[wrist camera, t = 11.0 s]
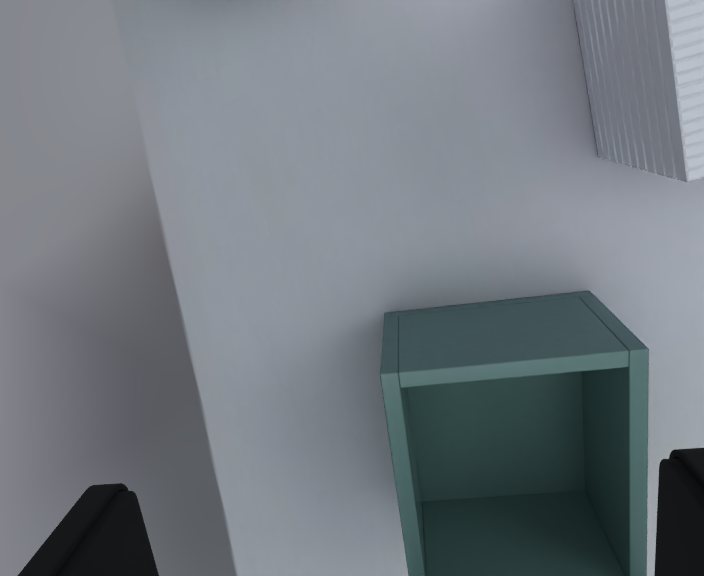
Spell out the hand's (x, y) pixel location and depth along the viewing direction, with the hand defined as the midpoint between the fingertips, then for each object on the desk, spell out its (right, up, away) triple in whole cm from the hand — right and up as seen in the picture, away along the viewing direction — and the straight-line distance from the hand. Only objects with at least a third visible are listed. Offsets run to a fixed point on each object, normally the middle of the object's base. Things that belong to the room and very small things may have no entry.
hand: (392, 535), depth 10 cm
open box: (+9, -3, +28) cm, 30 cm away
